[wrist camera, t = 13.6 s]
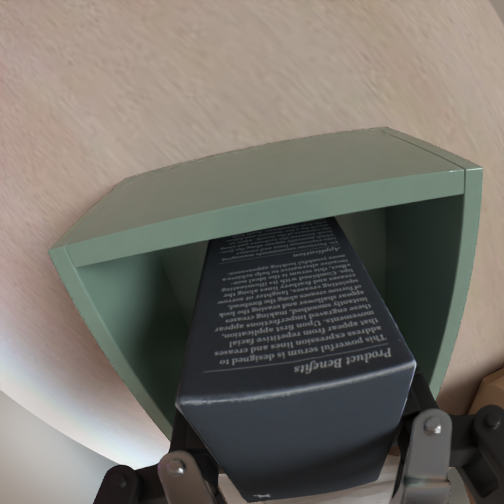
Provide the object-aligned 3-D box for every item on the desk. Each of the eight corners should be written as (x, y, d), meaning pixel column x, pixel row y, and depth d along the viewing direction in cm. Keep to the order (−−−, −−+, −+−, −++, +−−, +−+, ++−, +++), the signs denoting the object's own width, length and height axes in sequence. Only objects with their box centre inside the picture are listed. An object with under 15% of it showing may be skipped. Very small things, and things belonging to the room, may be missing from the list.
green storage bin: (387, 126, 14) (483, 167, 8) (388, 329, 21) (428, 419, 14) (124, 178, 16) (46, 251, 9) (198, 363, 22) (186, 460, 15)
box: (334, 320, 19) (379, 483, 10) (242, 335, 19) (240, 503, 10) (326, 196, 15) (426, 367, 6) (210, 215, 16) (165, 407, 6)
